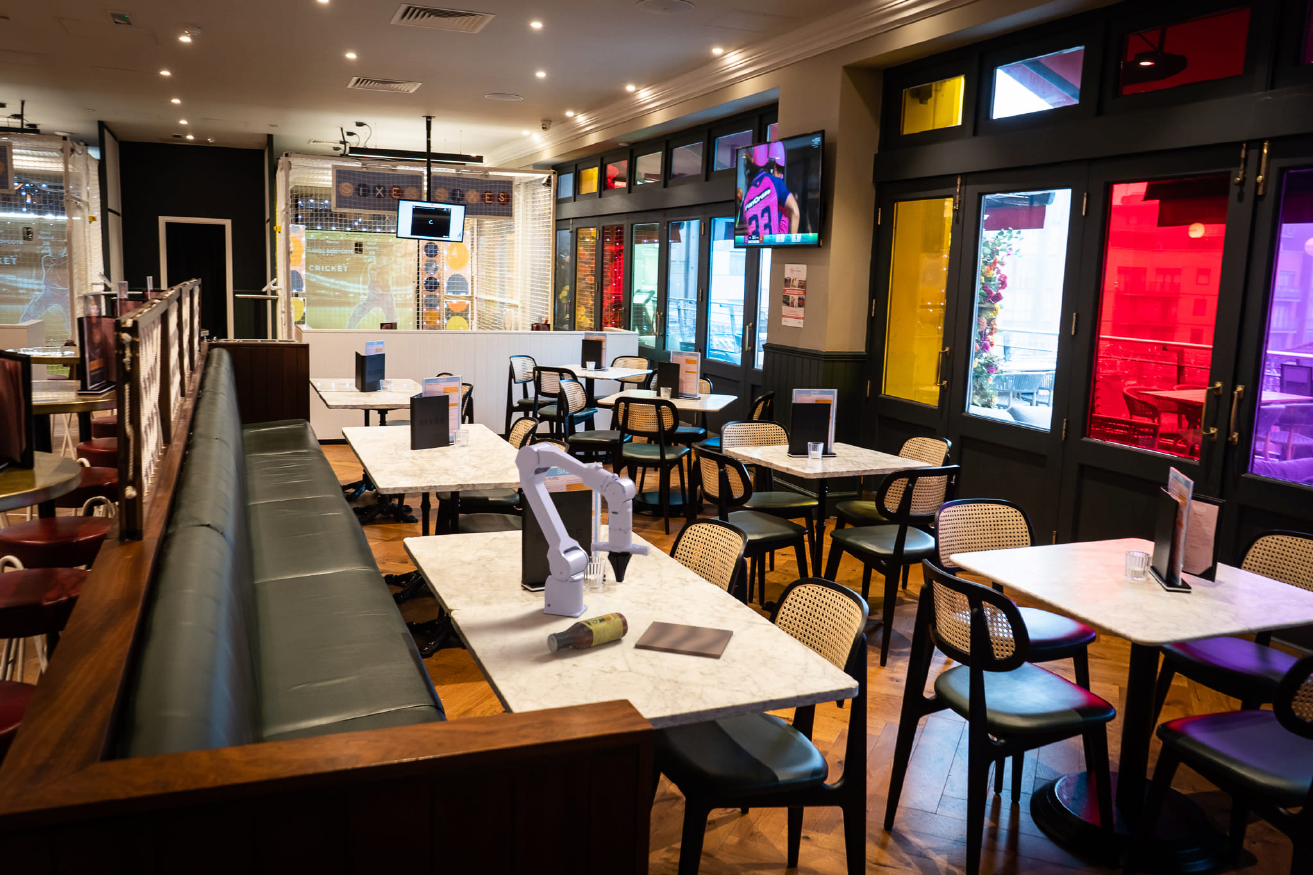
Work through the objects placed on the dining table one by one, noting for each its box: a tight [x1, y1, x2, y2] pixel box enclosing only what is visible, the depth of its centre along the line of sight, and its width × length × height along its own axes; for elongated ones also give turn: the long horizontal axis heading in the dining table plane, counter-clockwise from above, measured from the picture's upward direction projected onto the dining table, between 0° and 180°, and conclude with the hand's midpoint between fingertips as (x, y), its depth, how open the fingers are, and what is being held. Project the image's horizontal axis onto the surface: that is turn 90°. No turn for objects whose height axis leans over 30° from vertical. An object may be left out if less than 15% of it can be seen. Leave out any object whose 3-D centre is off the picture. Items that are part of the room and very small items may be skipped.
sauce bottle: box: [546, 612, 629, 653], centre depth 216 cm, size 7×6×20 cm
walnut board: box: [634, 620, 734, 659], centre depth 221 cm, size 20×16×1 cm
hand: (619, 581), depth 231 cm, fingers closed
